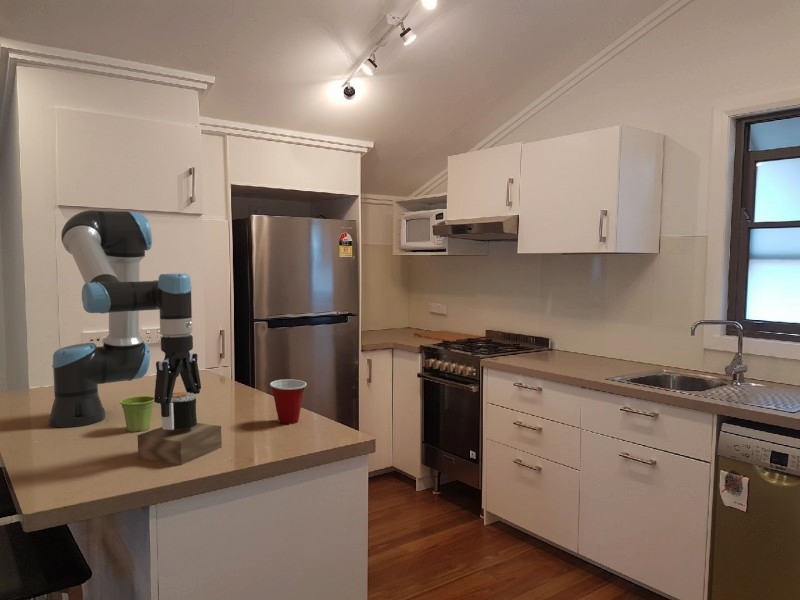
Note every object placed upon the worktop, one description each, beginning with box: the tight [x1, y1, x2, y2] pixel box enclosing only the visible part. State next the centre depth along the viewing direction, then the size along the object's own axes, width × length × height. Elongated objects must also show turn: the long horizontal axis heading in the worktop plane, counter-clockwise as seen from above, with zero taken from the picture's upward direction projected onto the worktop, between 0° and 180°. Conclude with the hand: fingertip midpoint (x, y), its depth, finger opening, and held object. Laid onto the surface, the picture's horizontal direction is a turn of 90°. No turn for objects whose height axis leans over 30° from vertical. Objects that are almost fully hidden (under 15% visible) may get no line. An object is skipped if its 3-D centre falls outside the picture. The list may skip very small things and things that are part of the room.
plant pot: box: [119, 395, 155, 433], centre depth 168 cm, size 9×9×9 cm
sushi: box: [166, 391, 198, 429], centre depth 146 cm, size 8×8×8 cm
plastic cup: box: [269, 378, 308, 425], centre depth 173 cm, size 11×11×12 cm
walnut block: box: [137, 422, 223, 466], centre depth 146 cm, size 14×14×6 cm
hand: (179, 423), depth 146 cm, fingers closed on sushi, 9 cm apart
